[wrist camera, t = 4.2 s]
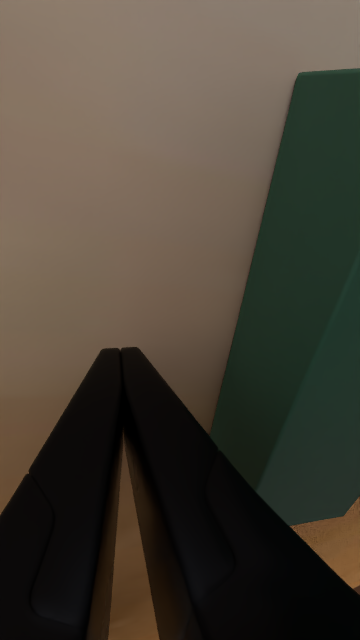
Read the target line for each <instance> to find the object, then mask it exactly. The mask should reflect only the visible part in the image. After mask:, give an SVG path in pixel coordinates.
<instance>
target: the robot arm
mask: <svg viewBox="0 0 360 640" xmlns="http://www.w3.org/2000/svg"><path fill="white" fill-rule="evenodd" d="M123 434H124V444H125V450H126V456H127V462H128V467H129V473H130V478H131V484H132V489H133V495H134V501H135V506H136V512H137V517H138V523H139V528H140V534H141V540H142V545H143V551H144V556H145V562H146V568H147V573H148V579H149V584H150V590H151V595H152V601H153V607H154V612H155V618H156V623H157V629H158V634H159V640H360V595H359V594H358V593H357V592H356V591H355V590H353V589H352V588H351V587H350V586H349V585H348V584H347V583H346V582H345V581H344V580H342V579H341V578H340V577H339V576H338V575H337V574H336V573H335V572H334V571H333V570H332V569H331V568H330V567H329V566H328V565H327V564H326V563H325V562H324V561H323V560H322V559H321V558H320V557H319V556H318V555H317V554H316V553H315V552H314V551H313V550H312V549H311V548H310V547H309V546H308V545H307V543H306V542H305V541H304V540H303V539H302V538H301V537H300V536H299V535H298V534H297V533H296V532H295V531H294V530H293V529H292V528H291V527H290V526H289V525H288V524H287V523H286V522H285V521H284V520H283V519H282V518H281V517H280V516H279V515H278V514H277V513H276V512H275V511H274V510H273V509H272V508H271V507H270V506H269V505H268V504H267V503H266V502H265V501H264V500H263V499H262V498H261V497H260V495H259V494H258V493H257V492H256V491H255V490H254V489H253V488H252V487H251V486H250V485H249V484H248V482H247V481H246V480H245V479H244V478H243V476H242V475H241V474H240V473H239V472H238V471H237V469H236V468H235V467H234V466H233V465H232V463H231V462H230V461H229V460H228V458H227V457H226V456H225V455H224V453H223V452H222V451H221V450H218V446H217V445H216V444H215V442H214V441H213V440H212V439H211V437H210V436H209V435H208V434H207V433H206V431H205V430H204V429H203V428H202V426H201V425H200V424H199V423H198V421H197V420H196V419H195V418H194V416H193V415H192V414H191V413H190V411H189V410H188V409H187V408H186V406H185V405H184V404H183V403H182V401H181V400H180V399H179V398H178V396H177V395H176V394H175V393H174V391H173V390H172V389H171V388H170V386H169V385H168V384H167V383H166V381H165V380H164V379H163V378H162V376H161V375H160V374H159V373H158V372H157V370H156V369H155V368H154V367H153V365H152V364H151V363H150V362H149V360H148V359H147V358H146V357H145V355H144V354H143V353H142V352H141V350H140V349H139V348H137V347H126V348H122V349H121V350H120V349H118V348H106V349H102V350H101V351H100V353H99V355H98V356H97V358H96V360H95V361H94V363H93V364H92V366H91V368H90V369H89V371H88V373H87V374H86V376H85V378H84V379H83V381H82V383H81V384H80V386H79V388H78V389H77V391H76V393H75V394H74V396H73V398H72V399H71V401H70V402H69V404H68V406H67V407H66V409H65V411H64V412H63V414H62V416H61V417H60V419H59V421H58V422H57V424H56V426H55V427H54V429H53V431H52V432H51V434H50V436H49V437H48V439H47V440H46V442H45V444H44V445H43V447H42V449H41V450H40V452H39V454H38V455H37V457H36V459H35V460H34V462H33V464H32V465H31V467H30V469H29V474H26V475H25V477H24V478H23V480H22V481H21V483H20V485H19V486H18V488H17V490H16V491H15V493H14V495H13V496H12V498H11V499H10V501H9V502H8V504H7V506H6V507H5V509H4V510H3V512H2V513H1V515H0V640H108V635H109V622H110V609H111V596H112V583H113V570H114V557H115V544H116V531H117V518H118V505H119V492H120V479H121V466H122V454H123Z"/></svg>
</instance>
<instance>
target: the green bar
mask: <svg viewBox="0 0 360 640" xmlns="http://www.w3.org/2000/svg"><path fill="white" fill-rule="evenodd" d="M210 437H211V439H212V440H213V441H214V442H215V444H216V445H217V446H218V450H221V451H222V452H223V453H224V455H225V456H226V457H227V458H228V460H229V461H230V462H231V463H232V465H233V466H234V467H235V468H236V469H237V471H238V472H239V473H240V474H241V475H242V476H243V478H244V479H245V480H246V481H247V482H248V484H249V485H250V486H251V487H252V488H253V489H254V490H255V491H256V492H257V493H258V494H259V495H260V497H261V498H262V499H263V500H264V501H265V502H266V503H267V504H268V505H269V506H270V507H271V508H272V509H273V510H274V511H275V512H276V513H277V514H278V515H279V516H280V517H281V518H282V519H283V520H284V521H285V522H286V523H287V524H288V525H289V526H291V525H297V524H302V523H308V522H313V521H319V520H324V519H330V518H336V517H341V516H344V515H345V514H346V512H347V511H348V510H349V509H350V507H351V506H352V505H353V504H354V502H355V501H356V500H357V499H358V497H359V496H360V68H357V69H342V70H327V71H312V72H302V73H299V74H298V76H297V79H296V83H295V87H294V91H293V95H292V99H291V104H290V108H289V112H288V116H287V120H286V124H285V128H284V132H283V136H282V141H281V145H280V149H279V153H278V157H277V161H276V165H275V169H274V173H273V178H272V182H271V186H270V190H269V194H268V198H267V202H266V206H265V211H264V215H263V219H262V223H261V227H260V231H259V235H258V239H257V243H256V248H255V252H254V256H253V260H252V264H251V268H250V272H249V276H248V280H247V285H246V289H245V293H244V297H243V301H242V305H241V309H240V313H239V318H238V322H237V326H236V330H235V334H234V338H233V342H232V346H231V350H230V355H229V359H228V363H227V367H226V371H225V375H224V379H223V383H222V387H221V392H220V396H219V400H218V404H217V408H216V412H215V416H214V420H213V424H212V429H211V433H210Z"/></svg>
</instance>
